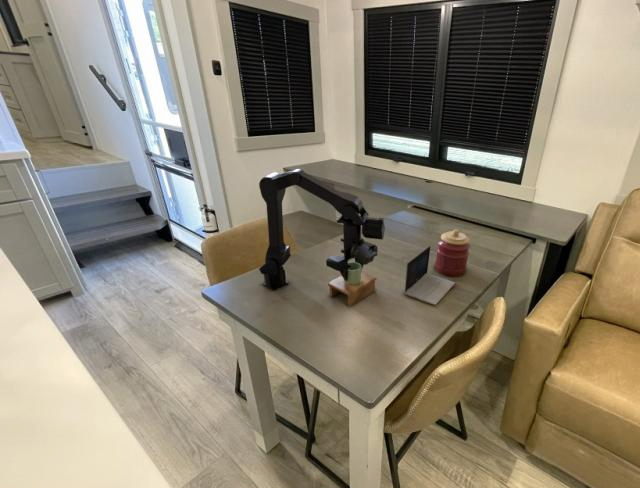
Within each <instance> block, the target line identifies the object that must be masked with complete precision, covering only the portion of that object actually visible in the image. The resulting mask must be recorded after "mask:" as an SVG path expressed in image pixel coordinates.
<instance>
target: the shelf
mask: <svg viewBox="0 0 640 488" xmlns="http://www.w3.org/2000/svg"><path fill="white" fill-rule="evenodd" d="M376 281H377V276H375V275H372V274H370V273H368V272H366V271H363V270H362V280H361V282H360V283H358V284H354V285H351V284H347V283H345V282H344V278H343V277H342V275H340V276H338V277H336V278H334V279H333V280H330V281H328V282H327V285H328V286H329V296H330V297H331V298H332V297H335V296H337V295H338V294H339V293H343V294H344V295H346V296H347V306H348V307H352V306H353V305H354V304H356V303H357V302H359V301H360V300H362V299H364V298H365V297H367V296H369V295H370V294H371V293H373V292H375V290H376Z"/></svg>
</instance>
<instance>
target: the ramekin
mask: <svg viewBox="0 0 640 488" xmlns="http://www.w3.org/2000/svg"><path fill="white" fill-rule="evenodd" d="M348 265H349V266H351V267H350V268H349V269H348V280H347V281H345V280H344V282H345V283H347V284H351V285H354V284H358V283H360V282H361V280H362V271H363V268H362V265H361V264H360V263H357V262H355V261H348Z"/></svg>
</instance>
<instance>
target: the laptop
mask: <svg viewBox="0 0 640 488" xmlns="http://www.w3.org/2000/svg"><path fill="white" fill-rule="evenodd" d="M430 254H431V245H428V246H427V247H426V248H424V249H423V250H421V252H420V253H418V254H417V255H415V256H414V257H413V258H411V259H410V260H409V261H408V262H406V271H405V283H404V295H406V296H408V297H411V298H414V299H417V300H420V301H422V302H425V303H427V304H432V305H434V306H437V304H438V303H439V302H440V301H441V299H443V298H444V296H445V295H447V293H448V292H449V291H450V289H452V287H453V286H454V285H455V284H456V282H455V281H452V280H449V279H446V278H443V277H440V276H438V275H434V274H431V273H428V268H429V262H430Z"/></svg>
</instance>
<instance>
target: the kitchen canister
mask: <svg viewBox="0 0 640 488" xmlns="http://www.w3.org/2000/svg"><path fill="white" fill-rule="evenodd" d="M437 244H438V246H437V248H436V257H435V261H434V262H435V263H434V267H435V270H436V271H437V272H439V273H440V274H442V275H445V276H449V277H458V276H463V274H465V272H466V271H467V265H468V264H467V263H468V259H469V256H470V251H469V249H470V248H471V244H470V238H469V237H468V236H467V235H466V234H465V233H463V232H460V231H459V230H458V229H453V230H450V231H446V232H444V233H442V234H441V235H440V238H439V239H438V241H437Z"/></svg>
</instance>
